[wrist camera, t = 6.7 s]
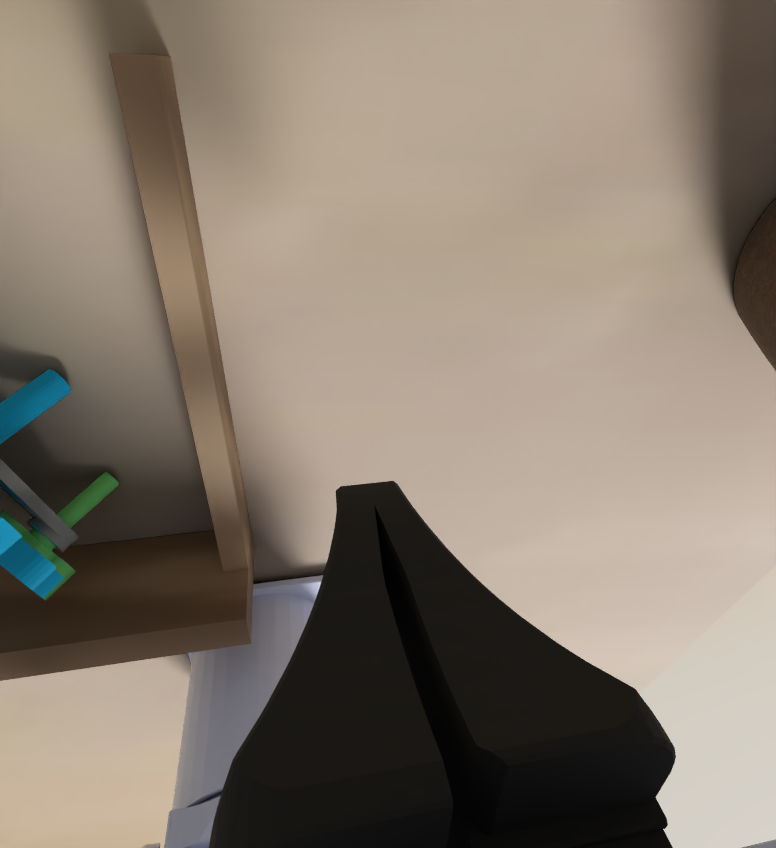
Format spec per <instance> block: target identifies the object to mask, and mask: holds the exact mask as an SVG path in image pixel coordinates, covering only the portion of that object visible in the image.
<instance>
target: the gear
mask: <svg viewBox="0 0 776 848" xmlns="http://www.w3.org/2000/svg"><path fill="white" fill-rule="evenodd" d="M70 392H71V388H70V386H69V385H68V384H67V382H66V381H65V380H64V379H63V378H62V377H61V376H60V375H59V374H57V373H56V372H55V371H53V370H51V369H48V370H47V371H46V372H44V373H43V374H41V375H40V376H38V377H37V378H35V379H34V380H32V381H31V382H30V383H28V384H27V385H25V386H24V387H22V388H21V389H19V390H18V391H17V392H15V393H14V394H12V395H11V396H9V397H8V398H6V399H5V400H4V401H2V402H1V403H0V444H1V443H3V442H4V441H5V440H7V439H8V438H9V437H11V436H12V435H14V434H15V433H16V432H18V431H19V430H20V429H22V428H23V427H24V426H26V425H27V424H28V423H30V422H31V421H32V420H34V419H35V418H37V417H38V416H39V415H41V414H42V413H43V412H45V411H46V410H47V409H49V408H50V407H51V406H53V405H54V404H56V403H57V402H58V401H60V400H61V399H62V398H64V397H65V396H66V395H68V394H69V393H70ZM118 485H119V483H118V482H117V480H116V479H115V478H114V477H112V476H111V475H110V474H109V473H107V472H104V473H103V474H102V475H101V476H100V477H99V478H97V479H96V480H95V481H94V482H93V483H92V484H91V485H89V486H88V487H87V488H86V489H85V490H84V491H83V492H81V493H80V494H79V495H78V496H77V497H76V498H74V499H73V500H72V501H71V502H70V503H69V504H68V505H66V506H65V507H64V508H63V509H62V510H61V511H59V512H58V513H57V514H55V513H54V512H53V511H52V510H51V509H50V508H49V507H48V506H47V505H46V504H45V503H44V502H43V501H42V500H41V499H40V498H39V497H38V496H37V495H36V494H35V493H34V492H33V491H32V490H31V489H30V488H29V487H28V486H27V485H26V484H25V483H24V482H23V481H22V480H21V479H20V478H19V477H18V476H17V475H16V474H15V473H14V472H13V471H12V470H11V469H10V468H9V467H8V466H7V465H6V464H5V463H4V462H3V461H2V460H1V459H0V486H1V487H2V488H3V489H4V490H5V491H6V492H7V493H8V494H9V495H10V496H11V497H12V498H13V499H15V500H16V501H17V502H18V503H19V504H20V505H21V506H22V507H23V508H24V509H25V510H26V511H27V512H28V513H29V514H30V515H31V516H33V518H32V519H31V520H30V521H28V522H27V523H28V524H29V526H30V527H31V528H33V530H32V531H31V532H29V531H27V530H26V529H25V528H24V527H23V526H22V525H21V524H20V523H19V522H18V521H16V520H15V519H14V518H13V517H12V516H10V515H9V514H8V513H6V512H5V511H4V510H3V511H1V512H0V565H1V566H2V567H4V568H5V569H6V570H7V571H9V572H10V573H11V574H12V575H14V576H15V577H16V578H17V579H19V580H20V581H21V582H22V583H24V584H25V585H26V586H27V587H29V588H30V589H31V590H32V591H34V592H35V593H36V594H38V595H39V596H40V597H41V598H43V599H44V600H45V601H46V600H47V599H48V598H49V597H50V596H51V595H52V594H53V593H54V592H55V591H56V590H57V589H59V588H60V587H61V586H62V585H63V584H64V583H65V582H66V581H67V580H68V579H69V578H70V577H71V576H72V575H73V574H74V573H75V572H76V571H75V570H74V569H73V568H72V567H71V566H69V565H68V564H67V563H66V562H65V561H63V560H62V559H61V558H60V557H58V556H57V555H56V554H55V553H53V552H52V550H53V549H54V548H57V549H58V550H59V551H61V552H64V551H65V550H66V549H67V548H68V547H69V546H70V545H71V544H72V543H73V542H75V541H76V540H77V539H78V536H77V535H76V534H75V532H74V531H73V530H72V529H71V528H72V527H73V526H74V525H75V524H76V523H77V522H78V521H79V520H81V519H82V518H83V517H84V516H85V515H86V514H87V513H88V512H89V511H91V510H92V509H93V508H94V507H95V506H96V505H97V504H98V503H99V502H101V501H102V500H103V499H104V498H105V497H106V496H107V495H108V494H109V493H111V492H112V491H113V490H114V489H115V488H116V487H117V486H118Z"/></svg>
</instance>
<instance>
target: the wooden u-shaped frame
mask: <svg viewBox="0 0 776 848" xmlns="http://www.w3.org/2000/svg"><path fill="white" fill-rule="evenodd" d="M109 55H110V60H111V65H112V69H113V74H114V78H115V83H116V87H117V92H118V96H119V101H120V105H121V110H122V114H123V119H124V123H125V128H126V133H127V137H128V142H129V146H130V151H131V155H132V160H133V164H134V169H135V173H136V178H137V182H138V187H139V191H140V196H141V200H142V205H143V210H144V214H145V219H146V223H147V228H148V232H149V237H150V241H151V246H152V250H153V255H154V259H155V264H156V268H157V273H158V277H159V282H160V287H161V291H162V296H163V300H164V305H165V309H166V314H167V318H168V323H169V327H170V332H171V336H172V341H173V345H174V350H175V355H176V359H177V364H178V368H179V373H180V377H181V382H182V386H183V391H184V395H185V400H186V404H187V409H188V413H189V418H190V422H191V427H192V432H193V436H194V441H195V445H196V450H197V454H198V459H199V463H200V468H201V472H202V477H203V481H204V486H205V490H206V495H207V500H208V504H209V509H210V513H211V518H212V522H213V527H214V531H206V532H197V533H188V534H179V535H171V536H162V537H153V538H144V539H135V540H127V541H118V542H109V543H100V544H92V545H83V546H74V547H68V548H67V549H66V550H65V551H64V552H61V551H59V550H58V549H53V550H52V552H53V553H55V554H56V555H57V556H58V557H60V558H61V559H62V560H63V561H65V562H66V563H67V564H68V565H69V566H71V567H72V568H73V569H74V570H75V571H76V572H75V573H74V574H73V575H72V576H71V577H70V578H69V579H68V580H67V581H66V582H65V583H64V584H63V585H62V586H61V587H60V588H59V589H57V590H56V591H55V592H54V593H53V594H52V595H51V596H50V597H49V598H48V599H47V600H46V601H45V600H44V599H43V598H41V597H40V596H39V595H38V594H36V593H35V592H34V591H32V590H31V589H30V588H29V587H27V586H26V585H25V584H24V583H22V582H21V581H20V580H19V579H17V578H16V577H15V576H14V575H12V574H11V573H10V572H9V571H7V570H6V569H5V568H4V567H2V566H1V565H0V681H2V680H9V679H15V678H22V677H29V676H36V675H42V674H49V673H56V672H63V671H70V670H76V669H83V668H90V667H97V666H103V665H110V664H117V663H124V662H131V661H137V660H144V659H151V658H158V657H165V656H171V655H178V654H185V653H192V652H198V651H205V650H212V649H219V648H226V647H232V646H239V645H246V644H251V634H252V604H253V575H254V545H253V539H252V534H251V528H250V522H249V516H248V510H247V504H246V498H245V492H244V487H243V481H242V475H241V469H240V463H239V457H238V451H237V446H236V440H235V434H234V428H233V422H232V416H231V410H230V404H229V399H228V393H227V387H226V381H225V375H224V369H223V363H222V358H221V352H220V346H219V340H218V334H217V328H216V322H215V317H214V311H213V305H212V299H211V293H210V287H209V281H208V275H207V270H206V264H205V258H204V252H203V246H202V240H201V234H200V229H199V223H198V217H197V211H196V205H195V199H194V193H193V187H192V182H191V176H190V170H189V164H188V158H187V152H186V146H185V141H184V135H183V129H182V123H181V117H180V111H179V105H178V99H177V94H176V88H175V82H174V76H173V70H172V64H171V58H170V57H167V56H161V55H155V54H111V53H109Z"/></svg>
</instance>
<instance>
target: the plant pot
mask: <svg viewBox="0 0 776 848" xmlns="http://www.w3.org/2000/svg"><path fill="white" fill-rule="evenodd" d="M734 299H735V305H736V309H737V312H738V314H739V316H740V318H741V320H742V321H743V323H744V325H745V326H746V328H747V329H748V331H749V333H750V334H751V336H752V337H753V339H754V340H755V342H756V343H757V345H758V346H759V348H760V349H761V351H762V352H763V354H764V355H765V357H766V358H767V359H768V361H769V362H770V364H771V365H772V366H773V368H774V369H775V370H776V199H775V200H774V201H773V202H772V203H771V204H770V205H769V207H768V208H767V209H766V210H765V212H764V213H763V214H762V216H761V217H760V219H759V220H758V222H757V223H756V225H755V227H754V228H753V230H752V231H751V233H750V235H749V237H748V239H747V241H746V243H745V245H744V248H743V250H742V252H741V255H740V258H739V261H738V264H737V269H736V274H735V280H734Z"/></svg>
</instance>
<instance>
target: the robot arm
mask: <svg viewBox="0 0 776 848" xmlns="http://www.w3.org/2000/svg"><path fill="white" fill-rule="evenodd" d="M336 502H337V514H336V522H335V529H334V534H333V539H332V544H331V548H330V553H329V557H328V561H327V564H326V568H325V571H324V574H323V575H320V576H313V577H305V578H297V579H290V580H282V581H274V582H267V583H259V584H253V604H252V634H251V644H246V645H239V646H232V647H226V648H219V649H212V650H205V651H198V652H192V653H188V655H189V659H190V662H191V665H192V666H191V674H190V681H189V689H188V696H187V704H186V711H185V719H184V726H183V734H182V741H181V749H180V756H179V764H178V771H177V779H176V786H175V794H174V801H173V809H172V810H171V811H170V812H169V817H168V824H167V832H166V839H165V846H164V848H672V845H671V844H670V842H669V840H668V838H667V836H666V834H665V832H664V830H663V829H665V828H666V827H667V819H666V817H665V815H664V813H663V811H662V809H661V807H660V805H659V803H658V802H657V800H656V798H655V797H656V795H657V794H658V792H659V791H660V789H661V787H662V785H663V784H664V782H665V781H666V779H667V777H668V775H669V774H670V772H671V770H672V767H673V765H674V762H675V758H676V755H675V749H674V746H673V744H672V743H671V741H670V739H669V738H668V736H667V734H666V733H665V731H664V729H663V728H662V726H661V724H660V723H659V721H658V720H657V718H656V717H655V715H654V714H653V712H652V711H651V710H650V708H649V707H648V706H647V704H646V703H645V702H644V700H643V699H642V698H641V696H640V695H639V694H638V692H637V691H636V689H634V688H633V687H631V686H629V685H627V684H625V683H624V682H622V681H620V680H618V679H617V678H615V677H613V676H611V675H609V674H608V673H606V672H604V671H602V670H601V669H599V668H597V667H595V666H593V665H592V664H590V663H588V662H586V661H585V660H583V659H581V658H580V657H578V656H577V655H575V654H574V653H572V652H570V651H569V650H567V649H566V648H564V647H563V646H561V645H560V644H558V643H556V642H555V641H554V640H552V639H551V638H550V637H548V636H547V635H545V634H544V633H543V632H541V631H540V630H539V629H537V628H536V627H534V626H533V625H532V624H530V623H529V622H528V621H526V620H525V619H523V618H522V617H521V616H519V615H518V614H517V613H516V612H514V611H513V610H512V609H511V608H510V607H508V606H507V605H506V604H505V603H503V602H502V601H501V600H500V599H499V598H497V597H496V596H495V595H494V594H493V593H492V592H491V591H490V590H488V589H487V588H486V587H485V586H484V585H483V584H482V583H481V582H480V581H479V580H477V579H476V578H475V577H474V576H473V575H472V574H471V573H470V572H469V571H468V570H467V569H466V568H465V567H464V566H463V565H462V564H461V563H460V562H459V561H458V560H457V559H456V557H455V556H454V555H453V554H452V553H451V552H450V551H449V550H448V549H447V548H446V547H445V546H444V544H443V543H442V542H441V541H440V540H439V539H438V537H437V536H436V535H435V534H434V533H433V532H432V530H431V529H430V528H429V527H428V526H427V524H426V523H425V522H424V521H423V519H422V518H421V517H420V515H419V514H418V513H417V512H416V510H415V509H414V508H413V506H412V505H411V503H410V502H409V501H408V499H407V498H406V496H405V495H404V493H403V492H402V490H401V489H400V487H399V486H398V484H396V483H395V482H394V481H388V482H379V483H369V484H360V485H350V486H341V487H340V488H339V489H338V490H336ZM142 848H160V843H157V844H147V845H144V846H143V847H142ZM743 848H776V840H772V841H768V842H764V843H759V844H755V845H751V846H747V847H743Z"/></svg>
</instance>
